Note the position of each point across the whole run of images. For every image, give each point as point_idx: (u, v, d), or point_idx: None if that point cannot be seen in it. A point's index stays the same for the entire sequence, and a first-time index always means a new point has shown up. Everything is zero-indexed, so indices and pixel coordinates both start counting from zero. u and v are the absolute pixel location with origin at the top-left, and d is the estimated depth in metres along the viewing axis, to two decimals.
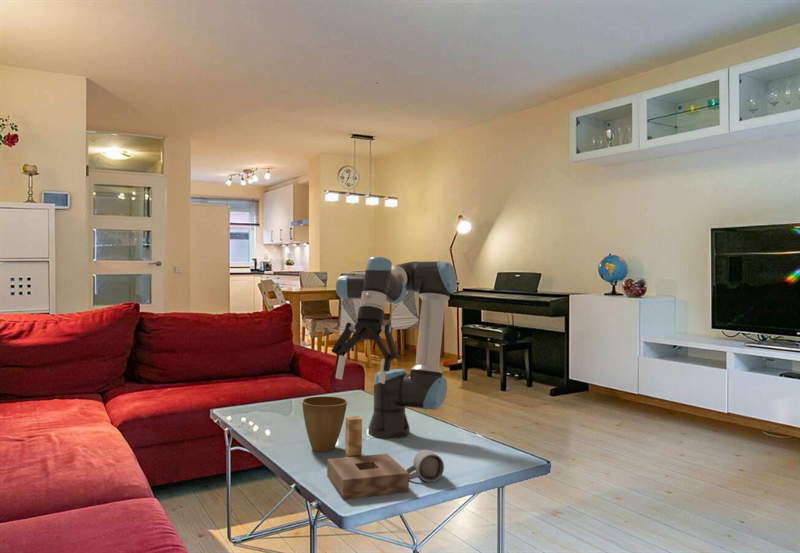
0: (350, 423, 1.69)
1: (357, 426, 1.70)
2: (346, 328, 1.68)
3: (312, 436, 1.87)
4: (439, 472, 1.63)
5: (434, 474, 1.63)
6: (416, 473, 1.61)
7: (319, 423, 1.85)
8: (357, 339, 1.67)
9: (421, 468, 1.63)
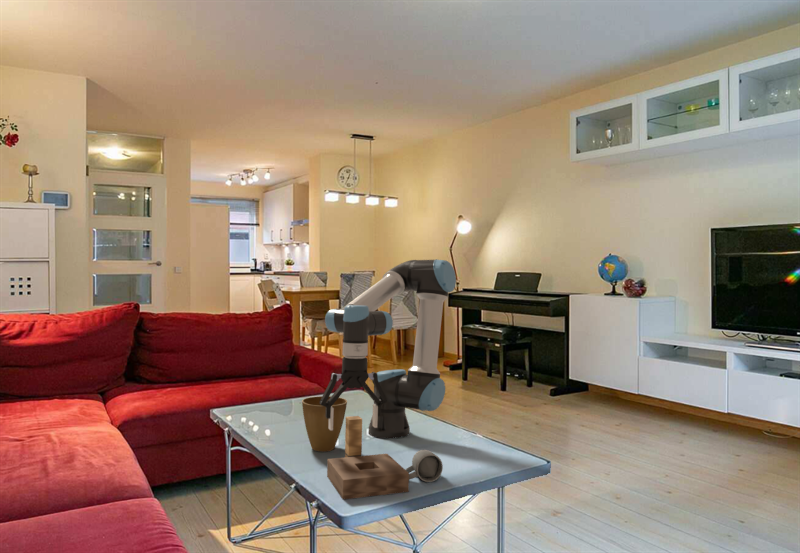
0: (350, 423, 1.69)
1: (357, 426, 1.70)
2: (334, 380, 1.68)
3: (312, 436, 1.87)
4: (438, 472, 1.63)
5: (433, 474, 1.63)
6: (415, 473, 1.61)
7: (318, 423, 1.85)
8: None
9: (420, 468, 1.62)
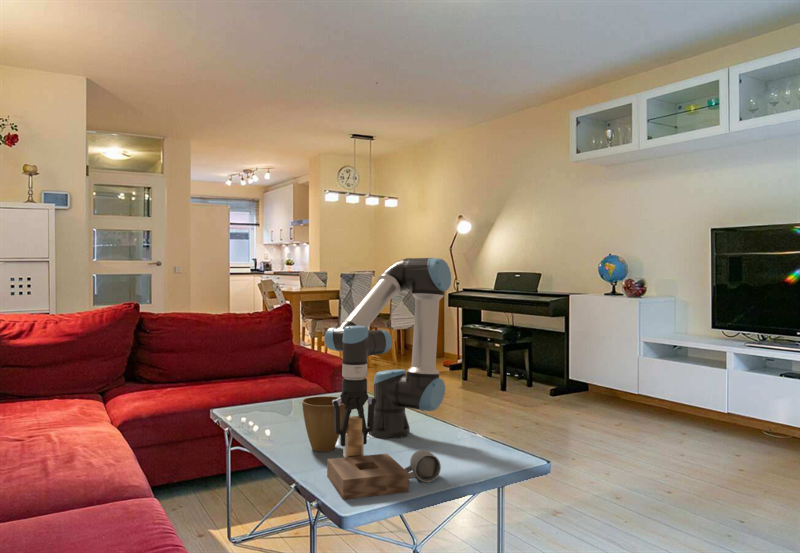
0: (350, 423, 1.69)
1: (357, 426, 1.70)
2: (336, 407, 1.69)
3: (312, 436, 1.87)
4: (436, 472, 1.63)
5: (431, 474, 1.62)
6: (413, 473, 1.61)
7: (318, 423, 1.85)
8: None
9: (418, 468, 1.62)
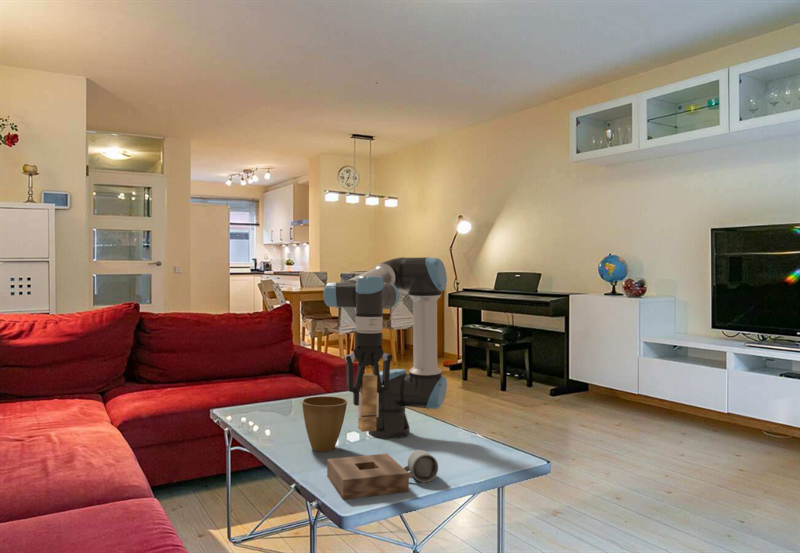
0: (364, 380, 1.56)
1: (372, 383, 1.57)
2: (349, 362, 1.56)
3: (312, 436, 1.87)
4: (433, 472, 1.63)
5: (428, 474, 1.62)
6: (410, 473, 1.61)
7: (318, 423, 1.85)
8: None
9: (415, 468, 1.62)
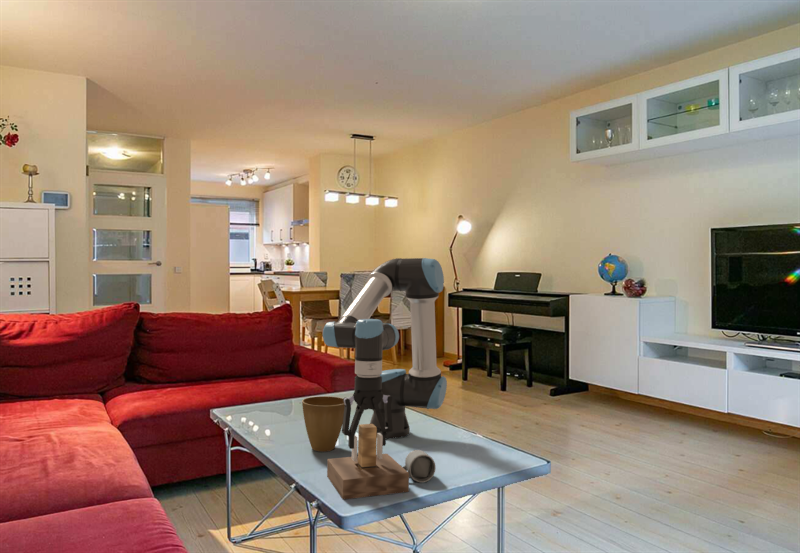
0: (364, 432, 1.56)
1: (371, 435, 1.57)
2: (348, 405, 1.55)
3: (312, 436, 1.87)
4: (431, 472, 1.63)
5: (425, 474, 1.62)
6: None
7: (318, 423, 1.85)
8: None
9: (412, 468, 1.62)
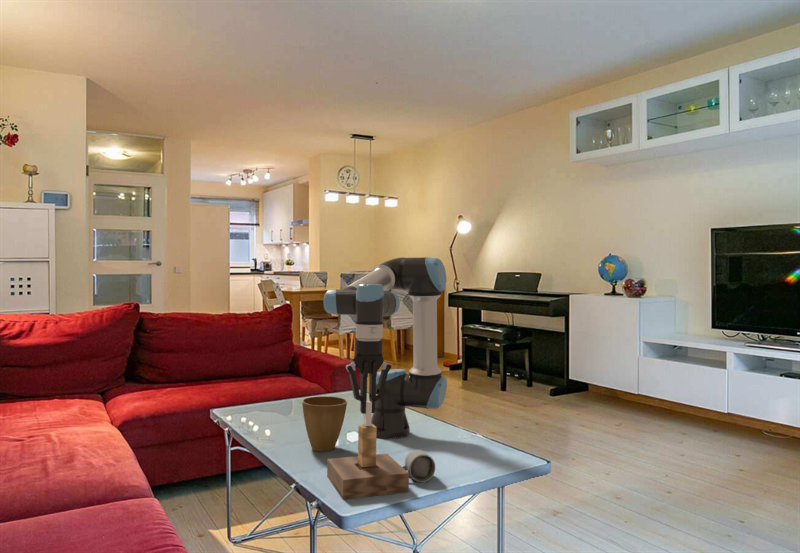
0: (363, 432, 1.56)
1: (371, 435, 1.57)
2: (351, 372, 1.56)
3: (312, 436, 1.87)
4: (430, 472, 1.63)
5: (425, 474, 1.62)
6: None
7: (319, 423, 1.85)
8: None
9: (412, 468, 1.62)
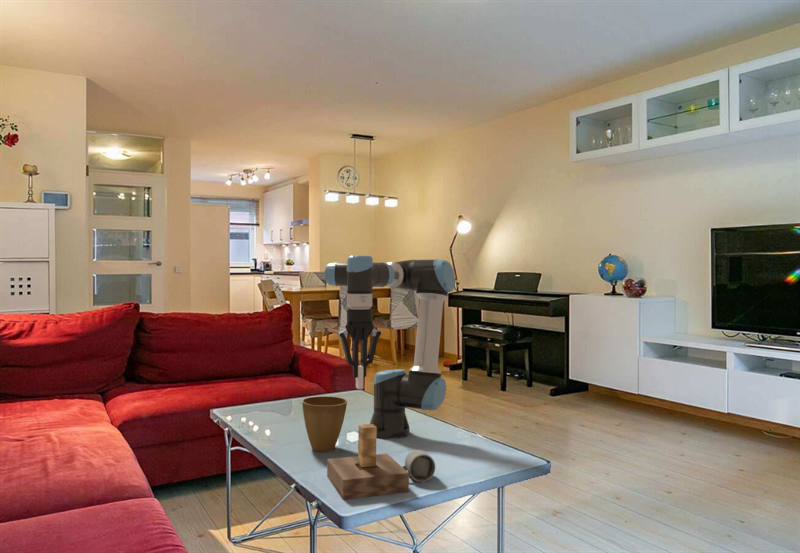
0: (364, 432, 1.56)
1: (371, 435, 1.57)
2: (344, 338, 1.66)
3: (312, 436, 1.87)
4: (430, 472, 1.63)
5: (425, 474, 1.62)
6: None
7: (318, 423, 1.85)
8: None
9: (412, 468, 1.62)
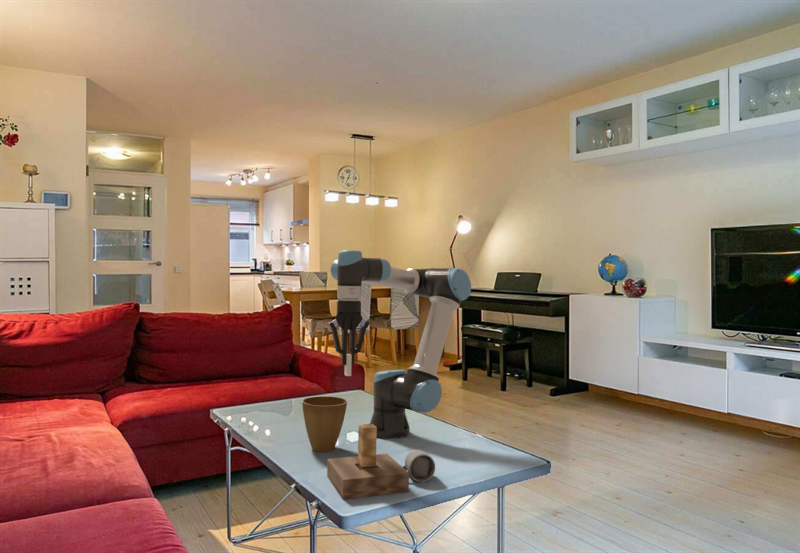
0: (364, 432, 1.56)
1: (371, 435, 1.57)
2: (333, 328, 1.77)
3: (312, 436, 1.87)
4: (430, 472, 1.63)
5: (425, 474, 1.62)
6: None
7: (319, 423, 1.85)
8: None
9: (412, 468, 1.62)
